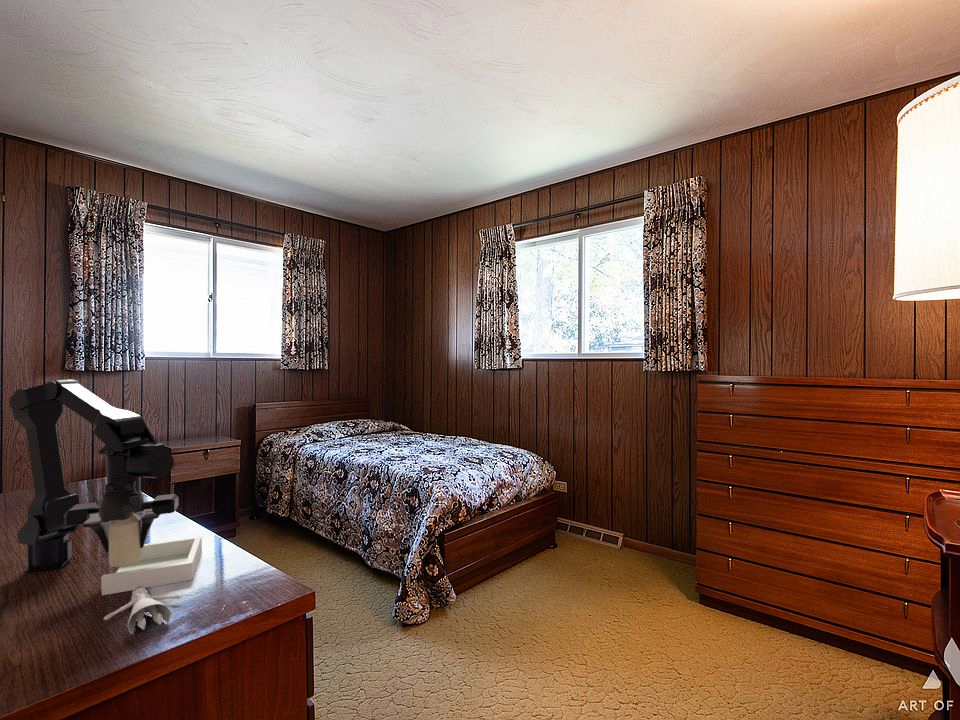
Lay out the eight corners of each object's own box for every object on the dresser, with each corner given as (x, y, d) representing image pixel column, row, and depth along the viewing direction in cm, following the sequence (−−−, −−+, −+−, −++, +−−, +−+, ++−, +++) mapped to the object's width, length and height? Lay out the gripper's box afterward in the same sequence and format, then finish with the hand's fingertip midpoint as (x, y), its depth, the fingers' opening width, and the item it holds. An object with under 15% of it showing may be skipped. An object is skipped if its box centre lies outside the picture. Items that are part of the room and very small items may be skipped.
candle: (103, 564, 101) (102, 516, 101) (132, 554, 106) (131, 508, 106) (117, 569, 99) (116, 520, 98) (147, 559, 103) (145, 512, 103)
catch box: (101, 595, 94) (101, 577, 94) (124, 562, 109) (123, 547, 109) (192, 579, 100) (192, 562, 100) (201, 550, 115) (201, 536, 115)
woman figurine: (106, 623, 76) (99, 590, 90) (107, 652, 76) (100, 614, 90) (192, 598, 84) (173, 571, 97) (192, 624, 84) (174, 593, 97)
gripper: (51, 490, 91) (53, 573, 91) (168, 479, 98) (170, 556, 99) (73, 477, 101) (75, 552, 101) (178, 467, 109) (179, 537, 109)
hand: (125, 549), depth 102 cm, fingers closed on candle, 5 cm apart
